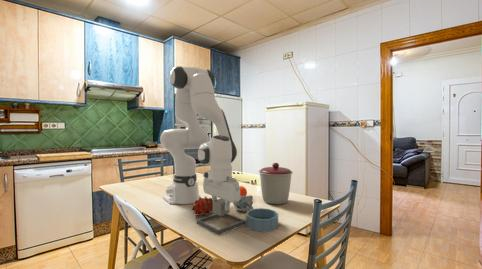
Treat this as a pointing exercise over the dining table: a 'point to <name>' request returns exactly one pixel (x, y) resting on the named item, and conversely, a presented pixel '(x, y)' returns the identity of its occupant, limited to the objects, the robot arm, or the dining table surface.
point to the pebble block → (219, 207)
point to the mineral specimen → (244, 204)
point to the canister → (275, 184)
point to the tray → (219, 231)
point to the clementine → (243, 191)
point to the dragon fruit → (203, 206)
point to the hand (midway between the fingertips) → (221, 208)
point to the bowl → (262, 219)
